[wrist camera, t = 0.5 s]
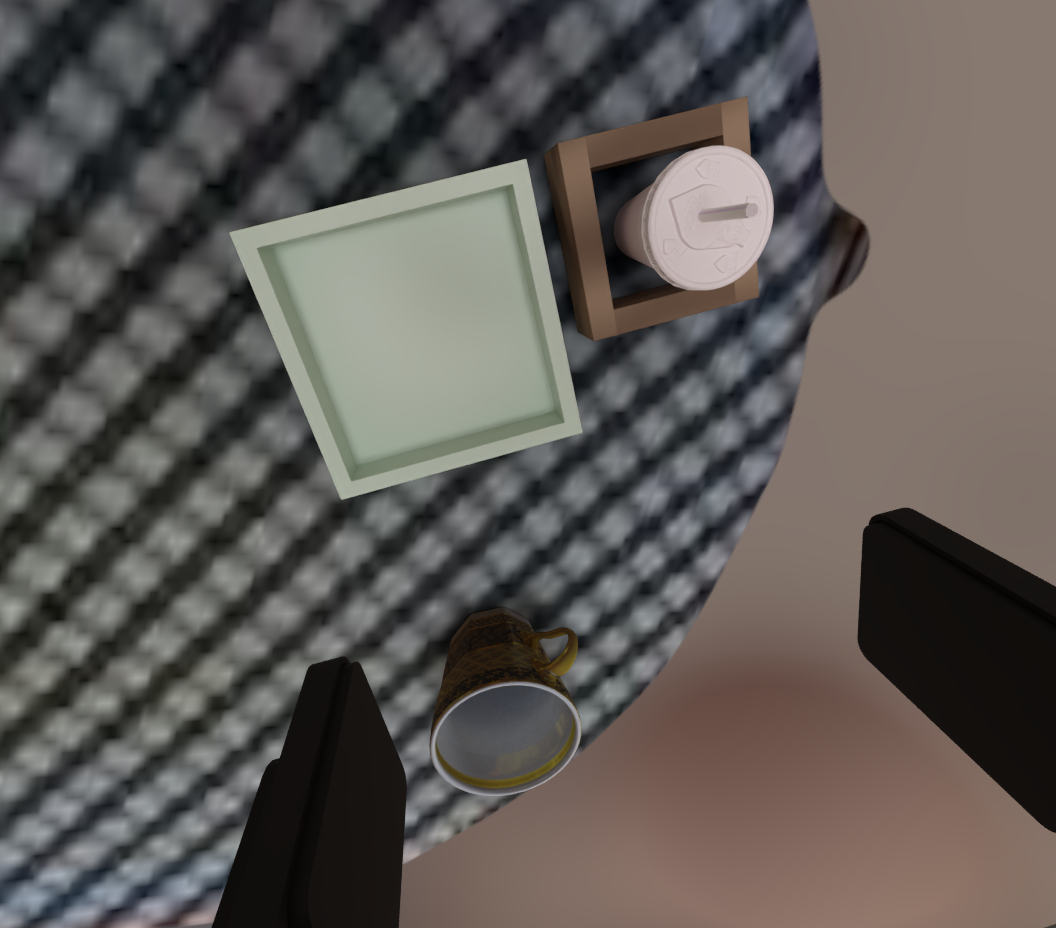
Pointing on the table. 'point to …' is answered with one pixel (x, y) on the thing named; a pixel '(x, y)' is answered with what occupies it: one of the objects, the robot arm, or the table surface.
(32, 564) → the table surface
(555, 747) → the ceramic cup
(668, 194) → the smoothie
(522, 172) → the tray
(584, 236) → the socket block
